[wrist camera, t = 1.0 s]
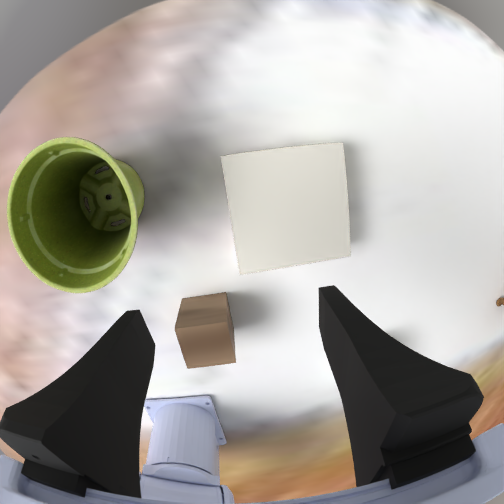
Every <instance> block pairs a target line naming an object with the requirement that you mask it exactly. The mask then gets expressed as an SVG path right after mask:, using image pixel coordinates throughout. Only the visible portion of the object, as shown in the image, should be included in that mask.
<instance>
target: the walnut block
mask: <svg viewBox="0 0 504 504" xmlns="http://www.w3.org/2000/svg"><path fill="white" fill-rule="evenodd" d="M175 332H176V335H177V338H178V342H179V345H180V348H181V351H182V354H183V357H184V360H185V363H186V366H187V368H188V369H189V368H198V367H206V366H215V365H222V364H229V363H236V358H235V342H234V329H233V324H232V319H231V314H230V309H229V304H228V299H227V294H226V292H223V293H217V294H210V295H204V296H197V297H190V298H183V299H182V301H181V305H180V309H179V313H178V317H177V321H176V325H175Z"/></svg>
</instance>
